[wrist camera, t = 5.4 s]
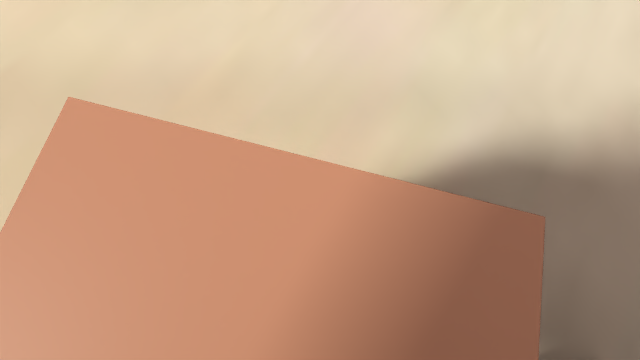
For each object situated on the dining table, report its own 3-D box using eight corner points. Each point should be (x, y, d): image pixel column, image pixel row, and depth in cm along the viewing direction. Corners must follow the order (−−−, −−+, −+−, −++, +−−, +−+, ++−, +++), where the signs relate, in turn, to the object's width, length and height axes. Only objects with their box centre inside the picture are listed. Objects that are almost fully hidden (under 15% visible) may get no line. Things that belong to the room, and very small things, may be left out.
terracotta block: (323, 387, 14) (508, 991, 2) (203, 358, 14) (-293, 816, 2) (348, 264, 16) (546, 217, 4) (240, 237, 15) (68, 96, 4)
